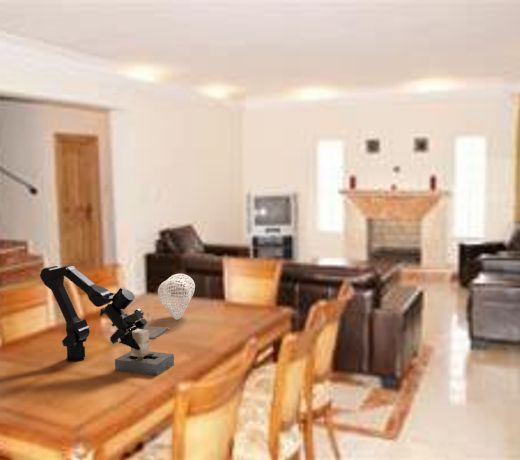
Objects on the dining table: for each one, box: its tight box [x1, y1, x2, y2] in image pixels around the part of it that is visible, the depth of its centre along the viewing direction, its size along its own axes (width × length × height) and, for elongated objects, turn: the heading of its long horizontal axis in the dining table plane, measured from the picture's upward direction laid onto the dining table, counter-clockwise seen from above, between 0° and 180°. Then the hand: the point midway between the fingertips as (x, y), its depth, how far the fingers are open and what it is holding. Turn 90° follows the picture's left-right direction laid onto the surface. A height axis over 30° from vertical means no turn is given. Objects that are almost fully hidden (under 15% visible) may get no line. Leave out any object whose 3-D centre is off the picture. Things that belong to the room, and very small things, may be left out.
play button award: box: [143, 325, 170, 340], centre depth 274 cm, size 16×2×20 cm
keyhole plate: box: [114, 350, 175, 376], centre depth 225 cm, size 18×13×4 cm
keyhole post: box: [130, 329, 150, 360], centre depth 225 cm, size 6×6×13 cm
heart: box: [157, 273, 196, 321], centre depth 297 cm, size 28×16×22 cm, turn 175°
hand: (143, 347), depth 225 cm, fingers closed on keyhole post, 5 cm apart
